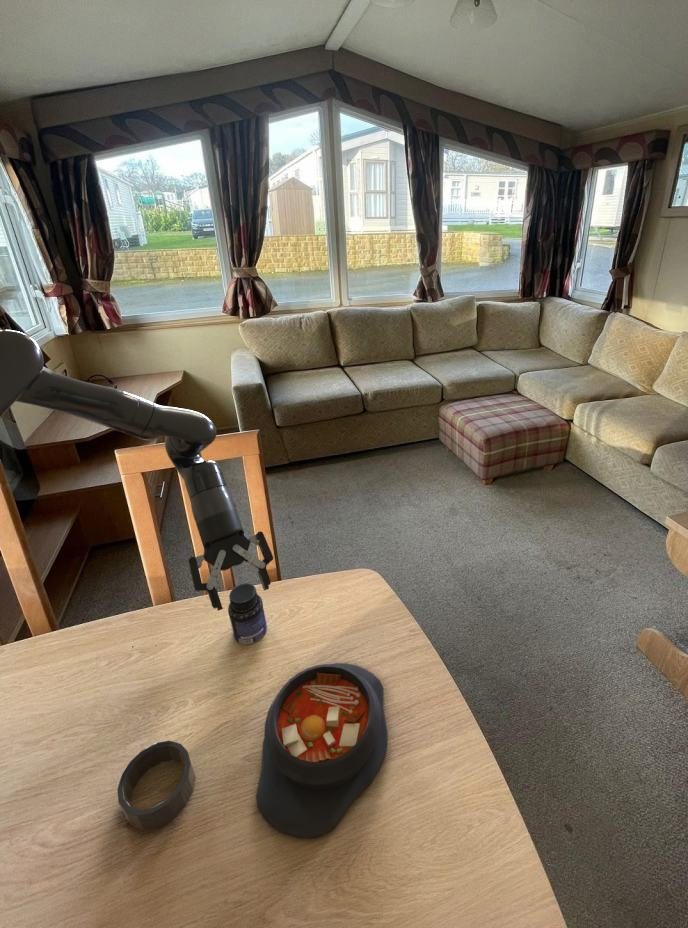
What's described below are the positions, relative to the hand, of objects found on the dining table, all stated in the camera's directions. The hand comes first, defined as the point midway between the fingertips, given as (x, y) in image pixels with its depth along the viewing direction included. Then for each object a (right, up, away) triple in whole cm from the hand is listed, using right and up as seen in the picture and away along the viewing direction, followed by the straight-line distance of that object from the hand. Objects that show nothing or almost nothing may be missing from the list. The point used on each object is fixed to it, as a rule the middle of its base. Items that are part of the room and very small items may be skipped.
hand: (243, 599), depth 87 cm
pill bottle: (0, -8, +4) cm, 9 cm away
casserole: (+17, -17, -14) cm, 28 cm away
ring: (-6, -20, -20) cm, 29 cm away
